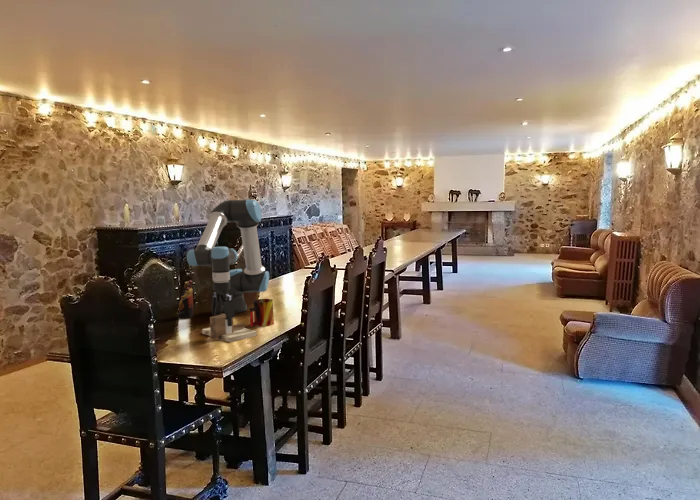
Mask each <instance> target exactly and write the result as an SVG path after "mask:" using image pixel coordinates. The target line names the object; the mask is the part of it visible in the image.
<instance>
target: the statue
mask: <svg viewBox="0 0 700 500" xmlns="http://www.w3.org/2000/svg"><path fill="white" fill-rule="evenodd" d="M194 309H195V308H194V291H193V280H191V279H190V280H188V281H185V282H184V286H183V291H182V293H181V295H180V301H179V304H178V309H177V311H178V313H177V318H178V319H177V320H190V319H192V318H193V317H194V315H195V312H194Z"/></svg>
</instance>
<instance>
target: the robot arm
mask: <svg viewBox="0 0 700 500" xmlns="http://www.w3.org/2000/svg"><path fill="white" fill-rule="evenodd" d="M261 221H262V209H261V206H260V203H259V202H258V201H257V200H256V199H233V200H232V199H228V200H224V201H222V202H220V203H219V204H217V205H216V206H215V207H214V208H213V209H211V211H210V213H209V215H208V222H207V225H206V226H205V228H204V230H203V233H202V235H201V237H200V239H199V241H198V243H197V246H196V248H195V249H193V248H192V249H190V250H188V251H187V254H186V261H187V264H188V265H189V266H191V267H192V266H195V267H203V266H204V267H205V266H206V267H207V266H211V271H212V272H211V274H212V275H211V277H212V282H213V283H212V290H213V291H214V292H212V293H211V314H212V315H213V316H218V315H222V314H225V315H226V318H225V326H226V334H228V333H232V318H233V319H234V318H236V317H235V316H236V315H235V314H237V313H242V312H246V311H247V310H248V305H247V303H246V300H245V297H244V293H264V292H266V291H267V290H268V287H269V285H270V283H269V282H270V272H269V271H267V270H266V268H265V266H264V265H262V257H261V251H260V242H259V235H258V229H257V227H258V226H259V225H260V222H261ZM227 223H236V227H237V228H238V229H239V230H240V236H241V243H242V247H243V248H242V249H243V255H244V262H245V268H244V270H243V269H242V268H235V269H234V268H233V269H230V266H232V265H234V264H235V263H236V262H237V260H238V252H237V251H236V250H235V249H234V248H231V247H230V248H229V247H227V246H216V244H217V242H218V240H219V238H220V237H219V236H220V235H221V232H222V231H223V228H224V227H225V226H226V225H227Z"/></svg>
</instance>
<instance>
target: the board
mask: <svg viewBox="0 0 700 500" xmlns="http://www.w3.org/2000/svg"><path fill="white" fill-rule="evenodd" d="M201 333H202V334H203V335H206V336H209V337H211V330H210V326H209V327H204V328H201ZM257 335H258V334H257V331H256V330H252V329H249V328H246V327H243V328H238V329H234V332H233V333H229V334H225V335H221V336H219V340H221V341H225V342H227V343H233V342H237V341H241V340H246V339H248V338H249V339H250V338H254V337H256V336H257Z"/></svg>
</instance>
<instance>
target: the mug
mask: <svg viewBox="0 0 700 500" xmlns="http://www.w3.org/2000/svg"><path fill="white" fill-rule="evenodd" d="M249 317H250V321H249V323H250V324H249V325H250V327H263V328H264V327H270V326H273V325H274V324H275V320H274V299H272V298H258V299H254V300H253V307H250V308H249Z"/></svg>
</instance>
